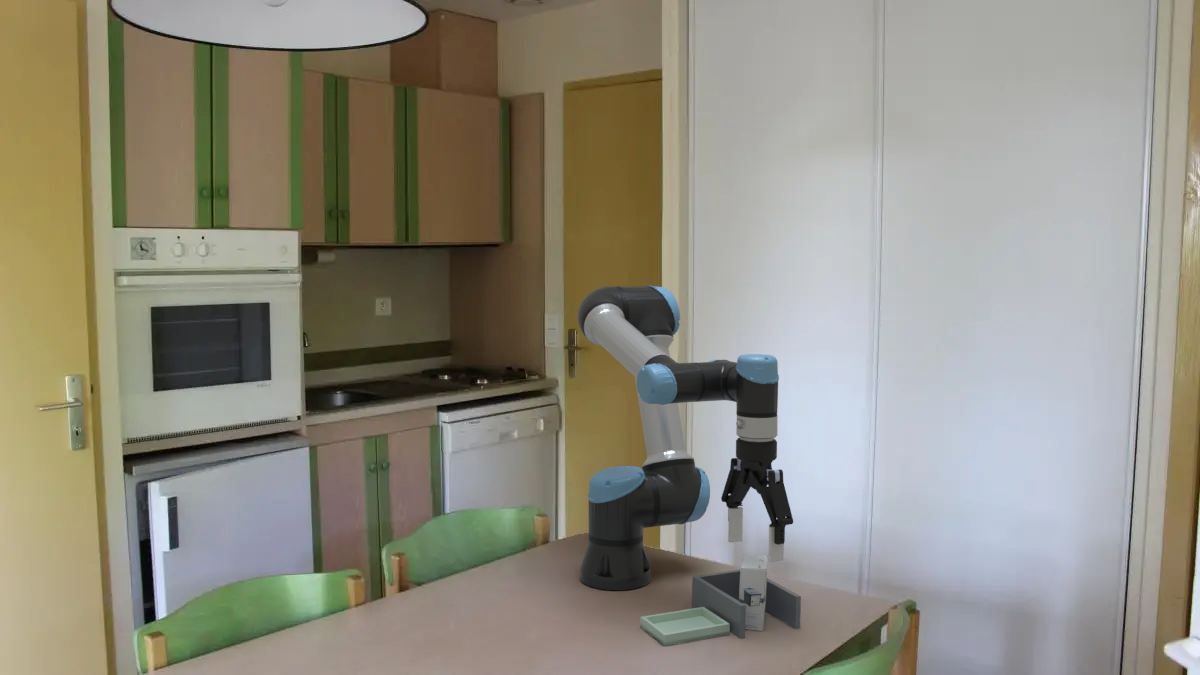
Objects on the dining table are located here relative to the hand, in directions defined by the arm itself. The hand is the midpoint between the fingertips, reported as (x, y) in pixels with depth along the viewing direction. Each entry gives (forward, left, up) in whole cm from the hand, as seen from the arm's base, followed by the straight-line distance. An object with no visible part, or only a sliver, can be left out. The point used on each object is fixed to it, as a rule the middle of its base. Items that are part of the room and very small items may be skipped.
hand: (754, 550), depth 178 cm
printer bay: (-3, 0, -14) cm, 14 cm away
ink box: (0, 0, -14) cm, 14 cm away
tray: (-1, -14, -14) cm, 20 cm away
